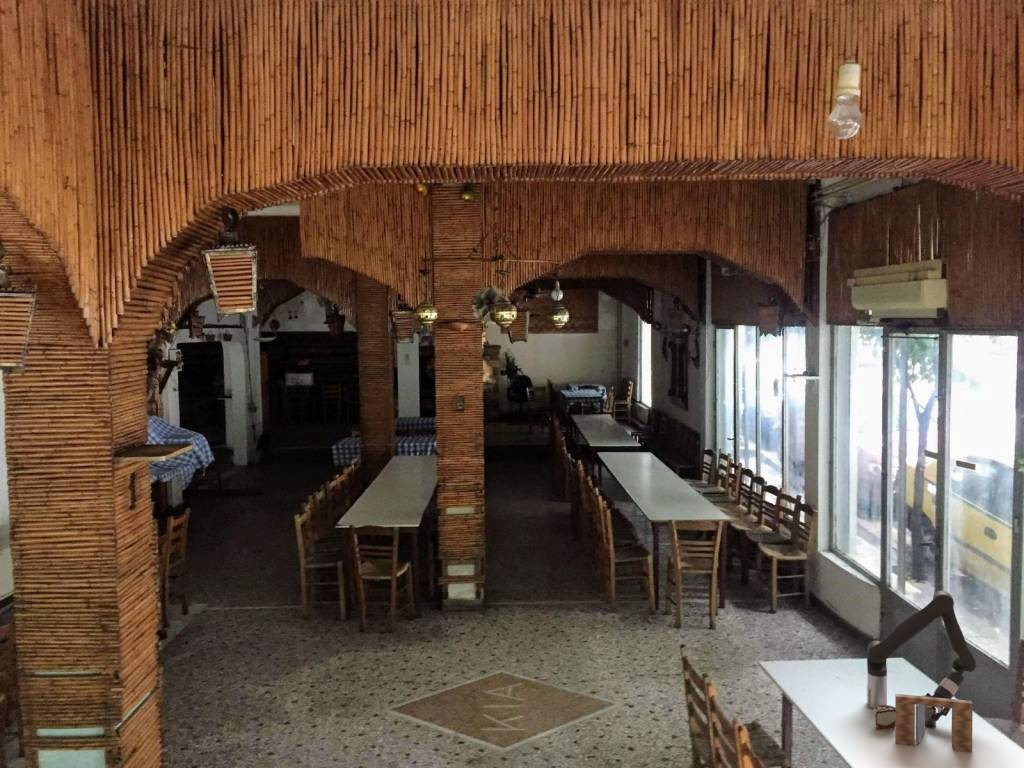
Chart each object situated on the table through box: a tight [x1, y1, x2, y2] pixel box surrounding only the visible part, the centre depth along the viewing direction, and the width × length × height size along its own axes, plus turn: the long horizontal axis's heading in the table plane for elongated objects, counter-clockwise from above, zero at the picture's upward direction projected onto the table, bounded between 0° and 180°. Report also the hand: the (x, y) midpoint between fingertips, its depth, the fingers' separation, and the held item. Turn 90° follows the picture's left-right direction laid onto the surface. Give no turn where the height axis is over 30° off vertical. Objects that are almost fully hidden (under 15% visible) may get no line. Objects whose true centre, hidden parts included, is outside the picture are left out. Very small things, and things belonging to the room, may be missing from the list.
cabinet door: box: [915, 694, 926, 745], centre depth 402 cm, size 14×3×18 cm, turn 143°
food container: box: [872, 704, 895, 732], centre depth 415 cm, size 12×6×10 cm, turn 102°
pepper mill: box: [925, 705, 937, 729], centre depth 415 cm, size 6×6×11 cm
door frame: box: [894, 693, 974, 753], centre depth 394 cm, size 32×3×23 cm, turn 73°
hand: (927, 716), depth 415 cm, fingers open, 8 cm apart
